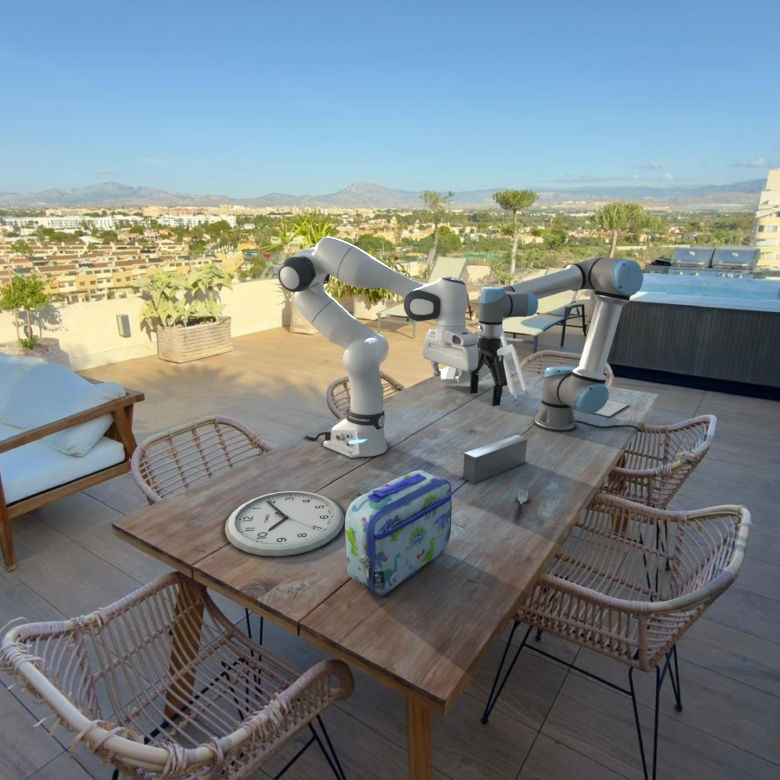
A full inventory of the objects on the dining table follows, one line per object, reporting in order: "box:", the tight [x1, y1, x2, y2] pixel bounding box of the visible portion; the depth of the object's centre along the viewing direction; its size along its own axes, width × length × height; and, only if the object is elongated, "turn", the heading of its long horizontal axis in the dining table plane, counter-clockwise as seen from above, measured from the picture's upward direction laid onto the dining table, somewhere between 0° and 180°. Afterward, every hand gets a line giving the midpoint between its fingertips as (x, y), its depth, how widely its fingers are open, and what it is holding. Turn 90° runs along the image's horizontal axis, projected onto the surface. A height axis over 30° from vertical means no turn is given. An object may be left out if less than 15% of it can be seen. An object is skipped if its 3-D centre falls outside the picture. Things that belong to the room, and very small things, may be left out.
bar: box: [462, 434, 528, 484], centre depth 164 cm, size 24×4×8 cm, turn 128°
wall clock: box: [224, 490, 345, 557], centre depth 134 cm, size 30×2×30 cm
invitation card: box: [594, 399, 629, 418], centre depth 226 cm, size 21×1×15 cm
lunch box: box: [344, 469, 453, 596], centre depth 114 cm, size 26×11×21 cm, turn 135°
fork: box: [516, 487, 529, 521], centre depth 143 cm, size 3×16×2 cm, turn 160°
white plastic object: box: [439, 326, 531, 400], centre depth 245 cm, size 37×45×31 cm
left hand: (447, 379), depth 157 cm, fingers open, 8 cm apart
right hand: (484, 399), depth 174 cm, fingers open, 13 cm apart
